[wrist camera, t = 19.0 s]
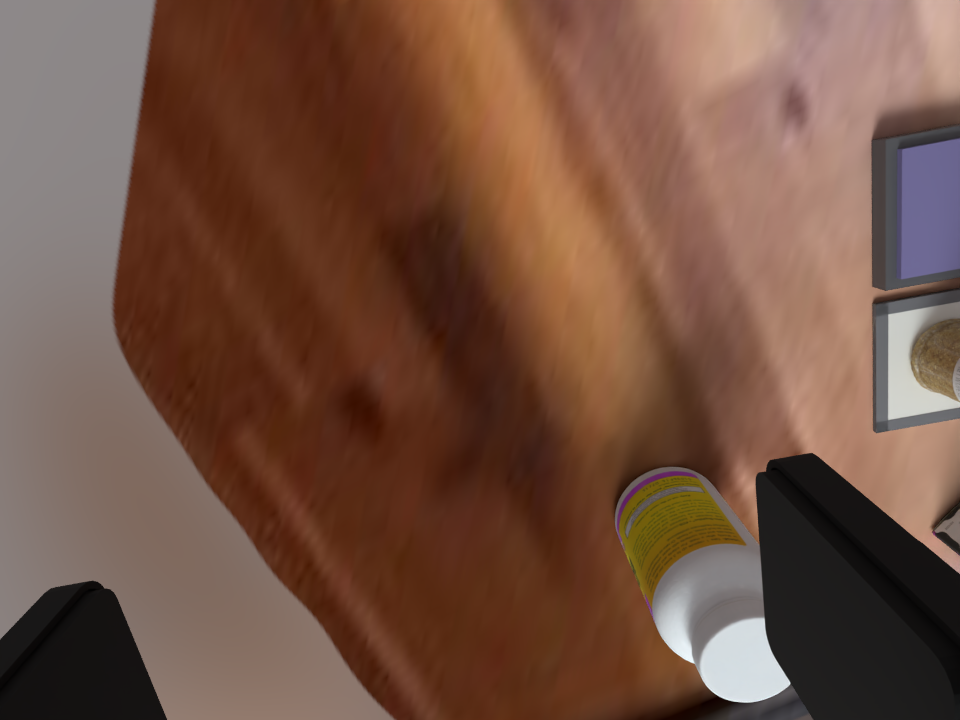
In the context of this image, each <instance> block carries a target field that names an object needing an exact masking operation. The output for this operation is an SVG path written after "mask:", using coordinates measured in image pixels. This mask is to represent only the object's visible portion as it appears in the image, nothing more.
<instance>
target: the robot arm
mask: <svg viewBox="0 0 960 720" xmlns="http://www.w3.org/2000/svg"><path fill="white" fill-rule="evenodd" d="M756 497H757V512H758V527H759V542H760V557H761V572H762V587H763V602H764V617H765V630H766V636H767V640H768V643H769V646H770V649H771V651H772V653H773V655H774V657H775V659H776V661H777V662H778V664H779V665H780V667H781V669H782V670H783V672H784V673H785V675H786V677H787V678H788V680H789V681H790V683H791V685H792V686H793V688H794V689H795V691H796V692H797V694H798V696H799V697H800V699H801V700H802V702H803V704H804V705H805V707H806V708H807V710H808V712H809V713H810V715H811V716H812V718H813V719H814V720H960V574H959V573H958V572H956V571H955V570H954V569H953V568H952V567H950V566H949V565H948V564H947V563H946V562H944V561H943V560H942V559H941V558H940V557H938V556H937V555H936V554H935V553H934V552H932V551H931V550H930V549H929V548H928V547H926V546H925V545H924V544H923V543H921V542H920V541H918V540H917V539H916V538H914V537H913V536H912V535H911V534H910V533H908V532H907V531H906V530H905V529H904V528H902V527H901V526H900V525H899V524H898V523H897V522H895V521H894V520H893V519H892V518H891V517H889V516H888V515H887V514H886V513H885V512H883V511H882V510H881V509H880V508H879V507H877V506H876V505H875V504H874V503H873V502H871V501H870V500H869V499H868V498H867V497H865V496H864V495H863V494H862V493H861V492H860V491H858V490H857V489H856V488H855V487H854V486H852V485H851V484H850V483H849V482H848V481H846V480H845V479H844V478H843V477H842V476H840V475H839V474H838V473H837V472H836V471H834V470H833V469H832V468H831V467H830V466H828V465H827V464H826V463H825V462H824V461H823V460H821V459H820V458H819V457H818V456H816V455H815V454H813V453H808V454H802V455H796V456H791V457H785V458H779V459H774V460H770V461H769V462H768V464H767V468H766V472H760V473H758V474H757V476H756ZM0 720H167V718H166V716H165V714H164V711H163V709H162V706H161V704H160V701H159V699H158V696H157V694H156V692H155V689H154V687H153V684H152V682H151V679H150V677H149V675H148V672H147V670H146V668H145V665H144V663H143V660H142V658H141V655H140V653H139V650H138V648H137V645H136V643H135V641H134V638H133V636H132V633H131V631H130V628H129V626H128V624H127V621H126V619H125V616H124V614H123V612H122V609H121V607H120V604H119V602H118V599H117V597H116V595H115V594H114V592H112V591H111V590H110V589H104V587H103V586H102V585H101V584H100V583H98V582H95V581H88V582H82V583H77V584H72V585H66V586H60V587H55V588H51V589H50V590H48V591H47V592H46V593H44V594H43V596H41V597H40V599H39V600H38V601H37V602H36V603H35V604H34V605H33V606H32V607H31V608H30V609H29V610H28V611H27V612H26V613H25V614H24V615H23V616H22V618H20V619H19V621H18V622H17V623H16V624H15V625H14V626H13V627H12V628H11V629H10V630H9V631H8V632H7V633H6V634H5V635H4V636H3V637H2V638H1V640H0Z"/></svg>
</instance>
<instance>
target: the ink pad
mask: <svg viewBox="0 0 960 720" xmlns="http://www.w3.org/2000/svg"><path fill="white" fill-rule="evenodd" d="M872 274H873V287H875V288H878V289H882V290H885V291H887V290H892V289H898V288H903V287H909V286H914V285H920V284H925V283H931V282H936V281H942V280H947V279H953V278H958V277H960V124H955V125H950V126H944V127H939V128H934V129H928V130H923V131H918V132H912V133H907V134H902V135H897V136H891V137H886V138H881V139H875V140H872Z"/></svg>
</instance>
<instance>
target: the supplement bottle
mask: <svg viewBox="0 0 960 720" xmlns="http://www.w3.org/2000/svg"><path fill="white" fill-rule="evenodd" d="M615 526H616V530H617V534H618V537H619V539H620V542H621V544H622V547H623V549H624V551H625V554H626V556H627V558H628V561H629V563H630V565H631V568H632V570H633V572H634V574H635V577H636V579H637V582H638V584H639V587H640V589H641V591H642V593H643V596H644V598H645V600H646V603H647V605H648V607H649V610H650V612H651V615H652V617H653V619H654V622H655V624H656V626H657V629H658V631H659V633H660V635H661V637H662V638H663V640H664V641H665V642H666V644H667V645H668V646H669V647H670V648H671V649H672V650H673V651H674V652H675V653H676V654H678V655H679V656H681V657H682V658H684V659H685V660H687V661H689V662H692V663H694V664H695V665H696V667H697V669H698V671H699V673H700V675H701V678H702V680H703V681H704V683H705V684H706V686H707V687H708V688H709V689H710V690H711V691H712V692H713V693H715V694H716V695H718V696H720V697H722V698H724V699H727V700H730V701H735V702H755V701H760V700H764V699H767V698H769V697H772V696H774V695H776V694H778V693H779V692H781V691H783V690H784V689H785V688H786V687H788V686H789V685H790V684H791V683H790V681H789V680H788V678H787V677H786V675H785V673H784V672H783V670H782V669H781V667H780V665H779V664H778V662H777V661H776V659H775V657H774V655H773V653H772V651H771V649H770V646H769V643H768V640H767V636H766V630H765V617H764V602H763V587H762V572H761V557H760V545H759V544H758V543H757V541H756V540H755V539H754V538H753V536H752V535H751V534H750V532H749V531H748V530H747V528H746V527H745V526H744V525H743V523H742V522H741V521H740V519H739V518H738V517H737V515H736V514H735V513H734V511H733V510H732V509H731V508H730V506H729V505H728V504H727V502H726V501H725V500H724V498H723V497H722V496H721V494H720V493H719V492H718V491H717V490H716V488H715V487H714V486H713V485H712V484H711V483H710V481H709V480H708V479H706V478H705V477H704V476H702V475H701V474H699V473H697V472H695V471H693V470H690V469H686V468H682V467H663V468H658V469H654V470H652V471H649V472H647V473H645V474H643V475H641V476H639V477H638V478H637V479H635V480H634V481H633V482H632V483H631V484H630V485H629V486H628V487H627V488H626V489H625V491H624V492H623V494H622V495H621V497H620V499H619V501H618V504H617V508H616V512H615Z"/></svg>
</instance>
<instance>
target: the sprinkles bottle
mask: <svg viewBox="0 0 960 720" xmlns="http://www.w3.org/2000/svg"><path fill="white" fill-rule="evenodd" d="M911 358H912V360H911V369H912V372H913V374H914V377H915V378H916V381H917V382H918V383H919V384H920V386H922V387H923V388H925V389H927V390H929V391H931V392H935V393H940V394H942V395H944V396H947V397H949V398H951V399H953V400H955V401H958V402H960V318H959V319H948V320H945V321H942V322H939V323H937V324H936V325H934V326H933V327H931V328H929V329H928V330H927V331H925V332H924V333H923V334H922V336H921V337H920V339H919V340H918V341H917V343H916V345H915V348H914V351H913V353H912V356H911Z"/></svg>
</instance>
